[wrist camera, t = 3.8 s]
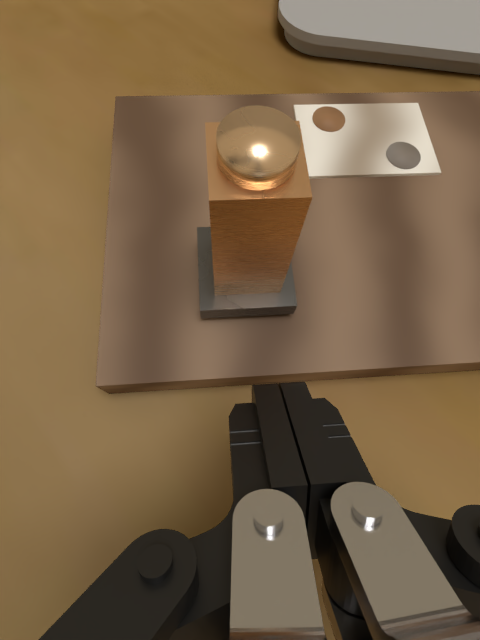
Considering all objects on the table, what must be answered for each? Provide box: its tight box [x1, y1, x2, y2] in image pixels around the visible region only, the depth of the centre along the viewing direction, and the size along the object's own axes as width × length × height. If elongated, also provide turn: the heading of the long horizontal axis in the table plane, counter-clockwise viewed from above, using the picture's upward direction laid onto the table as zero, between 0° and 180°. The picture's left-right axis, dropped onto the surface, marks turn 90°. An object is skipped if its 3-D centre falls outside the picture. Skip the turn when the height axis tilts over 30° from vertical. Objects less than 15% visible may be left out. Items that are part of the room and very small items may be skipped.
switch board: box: [96, 91, 480, 393], centre depth 21 cm, size 30×18×2 cm, turn 94°
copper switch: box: [197, 105, 312, 319], centre depth 14 cm, size 4×4×8 cm
